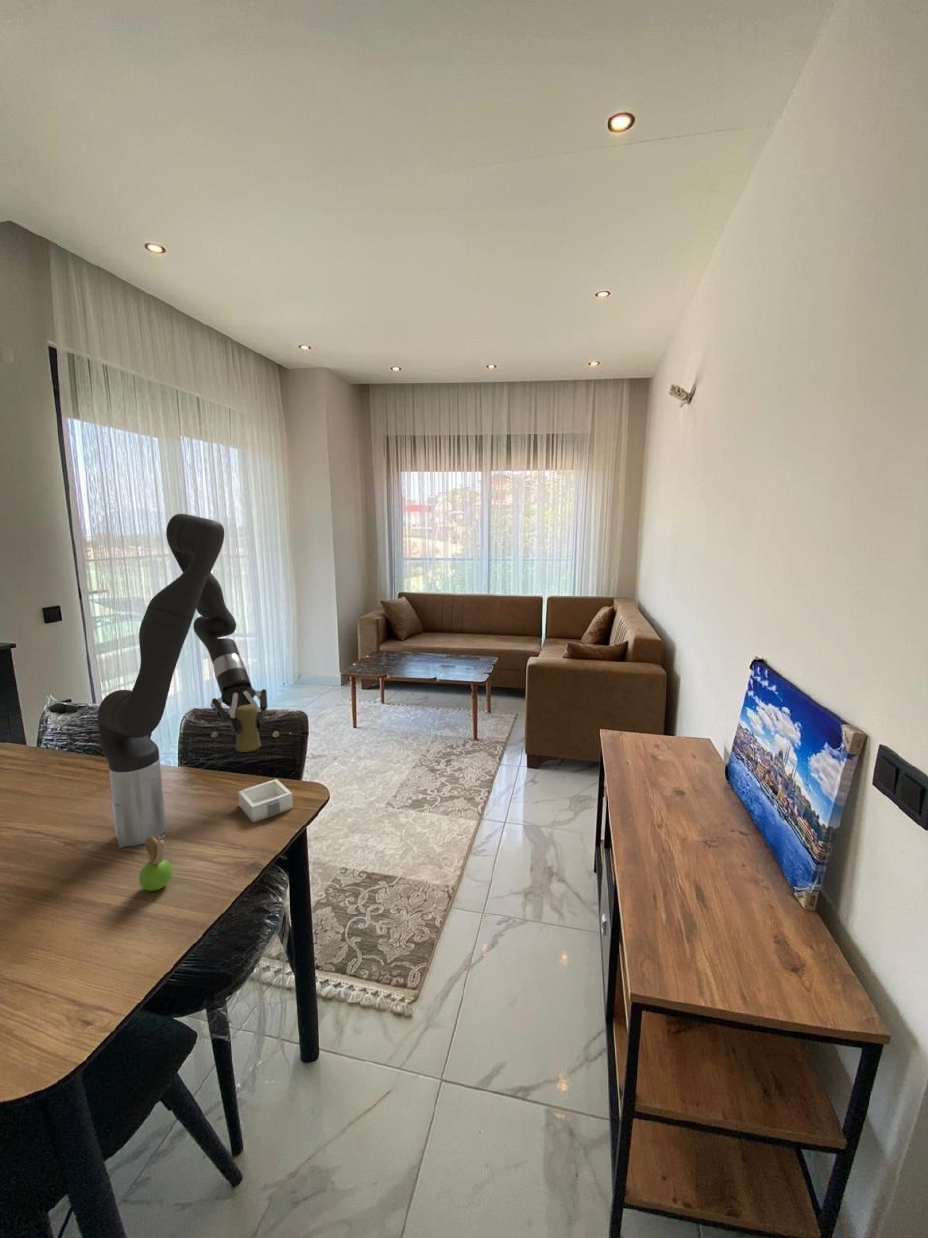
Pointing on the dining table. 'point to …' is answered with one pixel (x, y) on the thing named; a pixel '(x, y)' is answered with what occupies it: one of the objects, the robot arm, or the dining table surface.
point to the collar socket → (265, 800)
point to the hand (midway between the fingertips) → (249, 730)
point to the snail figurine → (155, 865)
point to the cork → (247, 729)
